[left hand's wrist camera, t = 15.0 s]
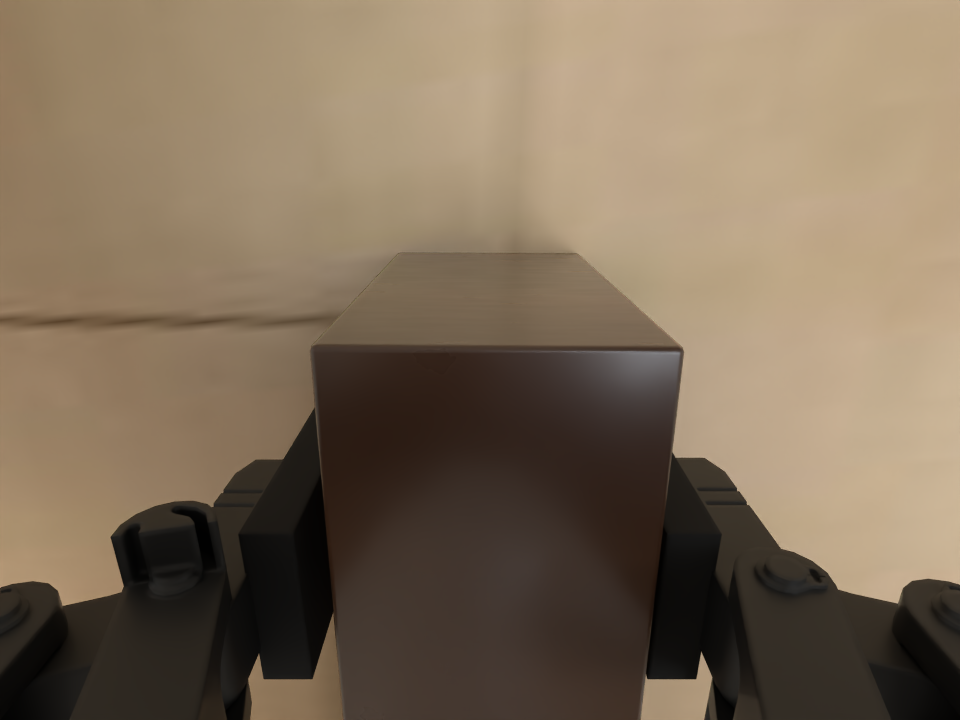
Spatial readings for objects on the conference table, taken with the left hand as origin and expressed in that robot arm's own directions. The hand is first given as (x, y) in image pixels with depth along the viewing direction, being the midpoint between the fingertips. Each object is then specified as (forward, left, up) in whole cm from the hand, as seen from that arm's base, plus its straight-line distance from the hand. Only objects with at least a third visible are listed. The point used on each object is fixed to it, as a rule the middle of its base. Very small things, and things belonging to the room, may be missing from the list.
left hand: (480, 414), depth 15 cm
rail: (+7, +6, -1) cm, 9 cm away
